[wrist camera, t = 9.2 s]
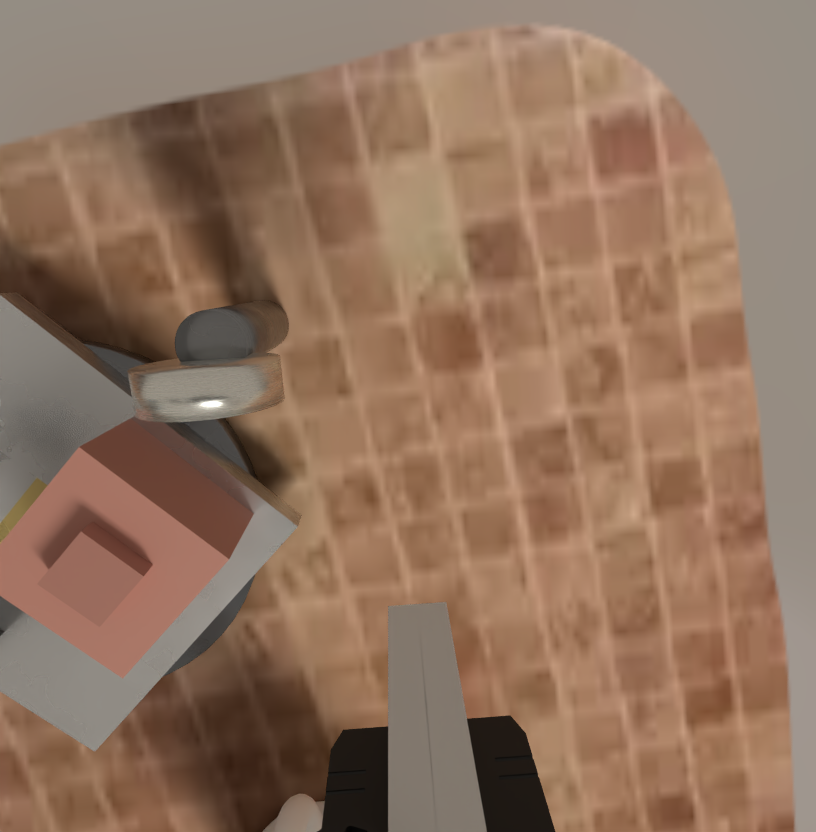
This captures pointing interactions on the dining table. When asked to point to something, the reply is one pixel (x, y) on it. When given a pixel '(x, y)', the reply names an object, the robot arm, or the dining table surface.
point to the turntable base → (226, 443)
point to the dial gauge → (215, 366)
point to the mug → (298, 815)
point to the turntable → (36, 467)
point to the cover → (119, 545)
